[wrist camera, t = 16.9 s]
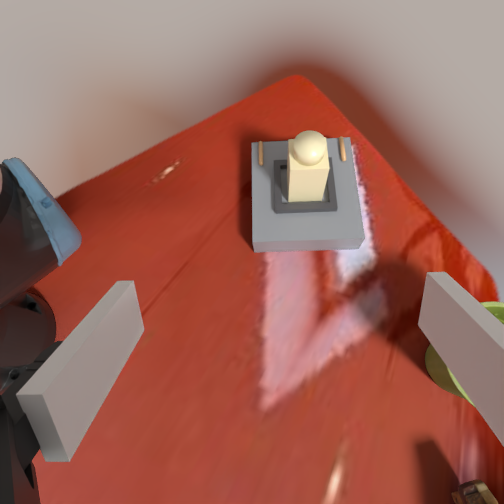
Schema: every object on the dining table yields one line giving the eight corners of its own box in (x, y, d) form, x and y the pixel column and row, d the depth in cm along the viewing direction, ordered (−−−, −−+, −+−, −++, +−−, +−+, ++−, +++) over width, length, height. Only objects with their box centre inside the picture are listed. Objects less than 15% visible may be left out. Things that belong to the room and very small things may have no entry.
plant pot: (394, 325, 46) (429, 308, 35) (480, 315, 45) (541, 295, 35) (420, 420, 41) (468, 432, 31) (515, 409, 41) (597, 418, 30)
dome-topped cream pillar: (288, 202, 50) (290, 160, 40) (286, 174, 51) (288, 128, 42) (321, 200, 49) (331, 158, 40) (318, 173, 51) (328, 126, 42)
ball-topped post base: (254, 252, 51) (252, 239, 47) (253, 158, 58) (251, 138, 53) (358, 248, 50) (366, 235, 46) (345, 153, 57) (351, 132, 52)
